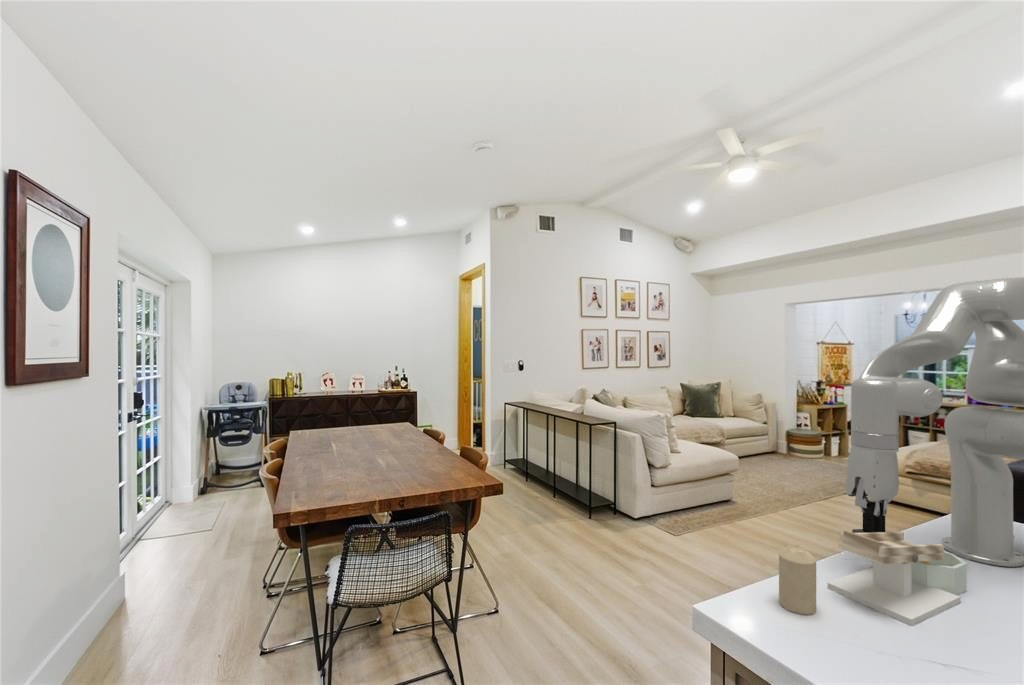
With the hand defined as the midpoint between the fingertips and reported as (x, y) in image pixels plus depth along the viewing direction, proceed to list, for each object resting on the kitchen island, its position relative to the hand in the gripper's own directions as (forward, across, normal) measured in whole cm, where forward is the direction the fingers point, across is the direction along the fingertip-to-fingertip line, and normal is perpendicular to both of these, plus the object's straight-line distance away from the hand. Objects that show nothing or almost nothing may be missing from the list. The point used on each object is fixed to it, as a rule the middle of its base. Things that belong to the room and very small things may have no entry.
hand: (873, 533), depth 93 cm
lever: (0, +7, +3) cm, 8 cm away
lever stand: (+8, +7, +6) cm, 12 cm away
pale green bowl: (+8, -5, +6) cm, 11 cm away
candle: (+8, +26, +1) cm, 27 cm away
